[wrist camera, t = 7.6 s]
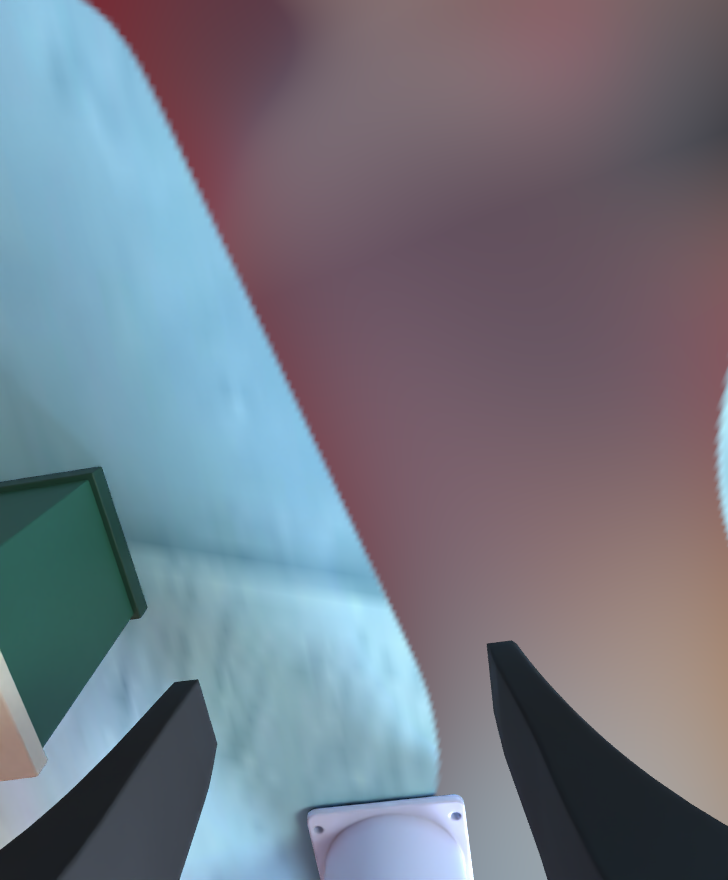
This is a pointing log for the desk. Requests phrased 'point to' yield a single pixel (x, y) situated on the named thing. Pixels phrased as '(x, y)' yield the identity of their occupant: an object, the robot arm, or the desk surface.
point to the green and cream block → (56, 603)
